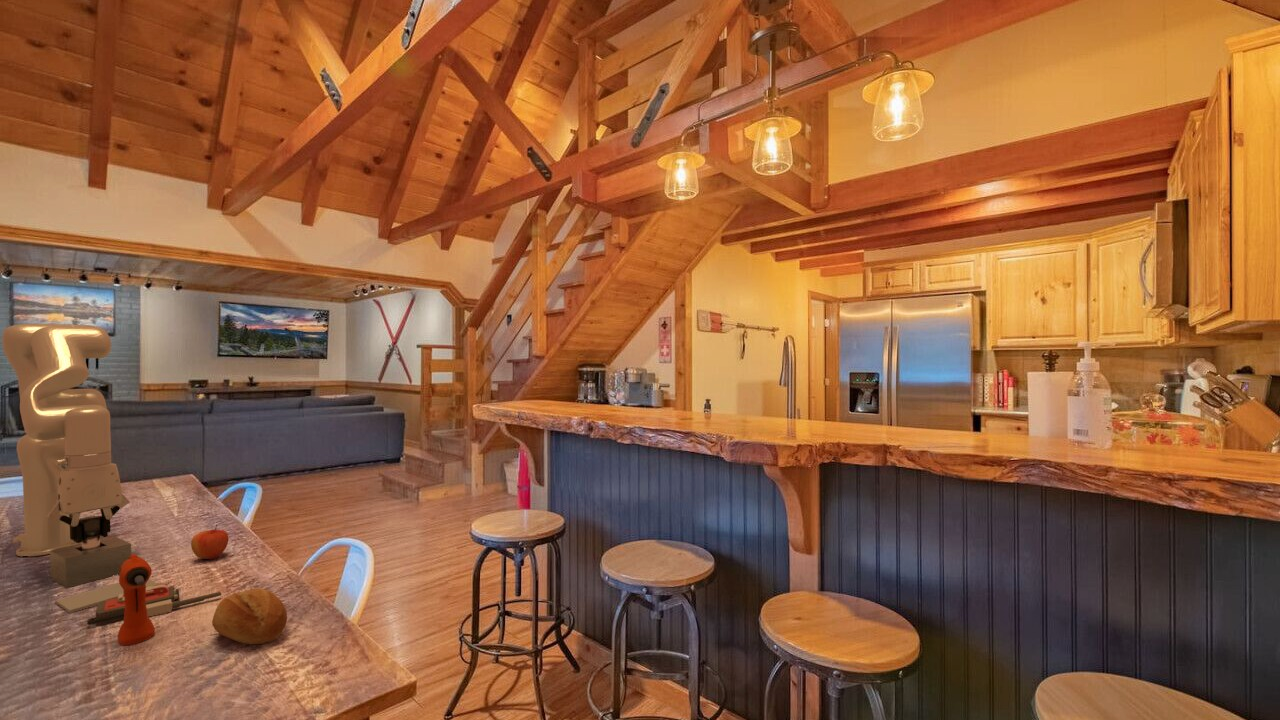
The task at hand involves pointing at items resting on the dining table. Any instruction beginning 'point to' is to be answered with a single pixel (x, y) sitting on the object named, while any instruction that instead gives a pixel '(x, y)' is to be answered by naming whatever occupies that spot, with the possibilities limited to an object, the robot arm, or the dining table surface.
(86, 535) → the brown beige cylinder
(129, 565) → the toy drill
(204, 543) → the apple
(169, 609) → the walkie-talkie
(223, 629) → the bread roll
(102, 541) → the block
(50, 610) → the dining table surface
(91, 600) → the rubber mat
